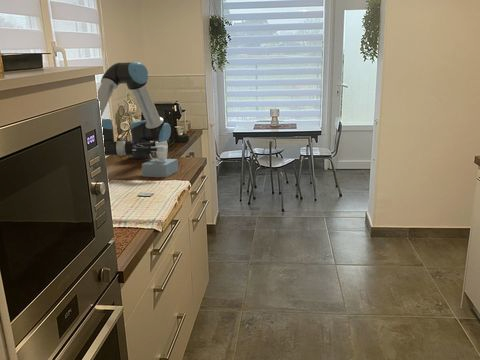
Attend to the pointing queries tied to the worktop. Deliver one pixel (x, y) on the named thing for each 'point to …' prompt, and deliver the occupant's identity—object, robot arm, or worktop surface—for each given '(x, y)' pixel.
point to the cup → (161, 155)
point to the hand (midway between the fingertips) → (165, 146)
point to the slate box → (159, 168)
